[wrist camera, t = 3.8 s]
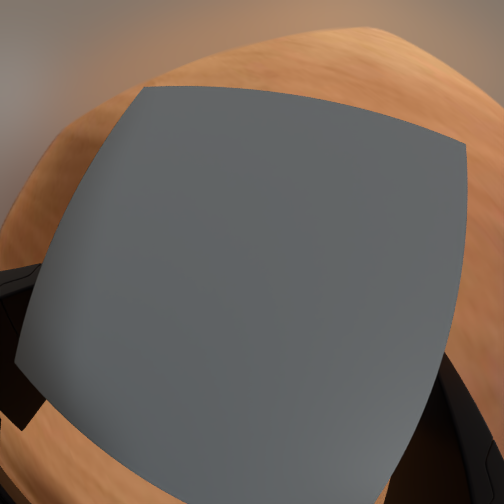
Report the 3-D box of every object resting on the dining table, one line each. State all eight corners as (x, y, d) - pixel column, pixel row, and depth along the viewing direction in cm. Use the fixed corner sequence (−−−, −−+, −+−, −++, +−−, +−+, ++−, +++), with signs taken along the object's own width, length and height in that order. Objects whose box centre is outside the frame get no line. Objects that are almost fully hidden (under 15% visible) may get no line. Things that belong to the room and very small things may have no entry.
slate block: (316, 388, 14) (336, 551, 2) (230, 355, 15) (14, 362, 3) (349, 300, 15) (465, 143, 3) (263, 272, 16) (144, 87, 4)
